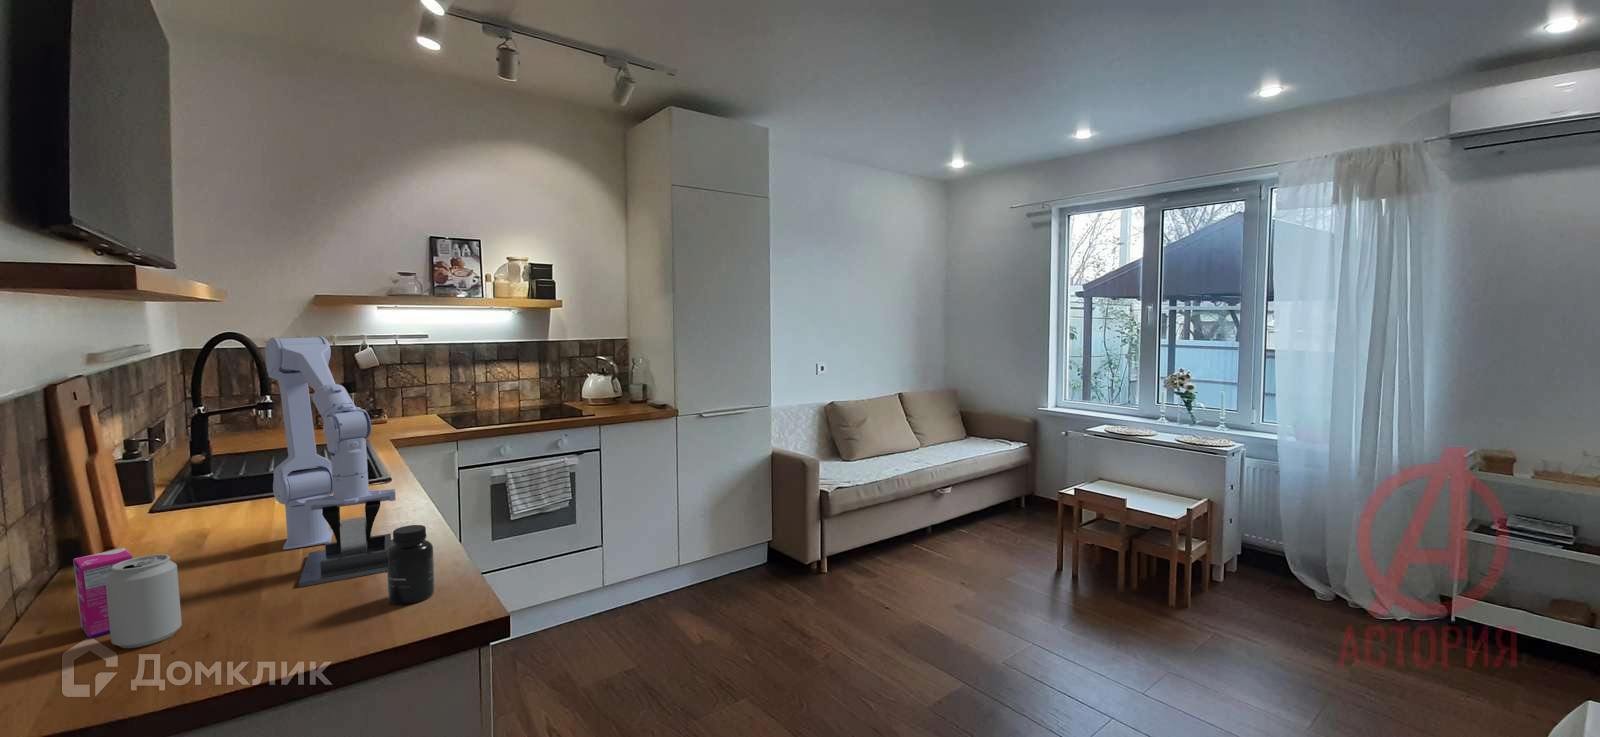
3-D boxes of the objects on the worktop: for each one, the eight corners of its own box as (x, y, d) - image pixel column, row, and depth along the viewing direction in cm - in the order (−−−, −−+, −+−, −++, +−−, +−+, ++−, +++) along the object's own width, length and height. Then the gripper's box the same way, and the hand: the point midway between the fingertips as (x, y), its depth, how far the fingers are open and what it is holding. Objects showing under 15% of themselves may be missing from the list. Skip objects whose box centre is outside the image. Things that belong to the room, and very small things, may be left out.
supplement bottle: (386, 609, 106) (382, 537, 106) (390, 593, 112) (386, 526, 112) (434, 600, 110) (431, 531, 109) (436, 586, 116) (432, 520, 115)
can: (102, 643, 96) (95, 564, 95) (170, 622, 102) (163, 548, 101) (123, 655, 92) (115, 573, 91) (191, 633, 99) (185, 556, 98)
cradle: (309, 556, 131) (308, 542, 130) (402, 541, 139) (401, 527, 139) (298, 587, 115) (297, 570, 115) (403, 568, 124) (403, 553, 124)
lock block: (343, 549, 128) (341, 520, 128) (367, 545, 130) (365, 516, 130) (341, 557, 124) (339, 526, 123) (366, 553, 126) (364, 523, 126)
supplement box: (79, 630, 100) (72, 557, 99) (133, 615, 105) (127, 546, 104) (86, 640, 97) (79, 565, 96) (141, 625, 101) (135, 553, 101)
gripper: (300, 482, 119) (305, 554, 120) (394, 472, 126) (397, 540, 127) (305, 475, 125) (309, 543, 126) (393, 465, 132) (397, 530, 133)
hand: (354, 541), depth 127 cm, fingers closed on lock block, 4 cm apart
